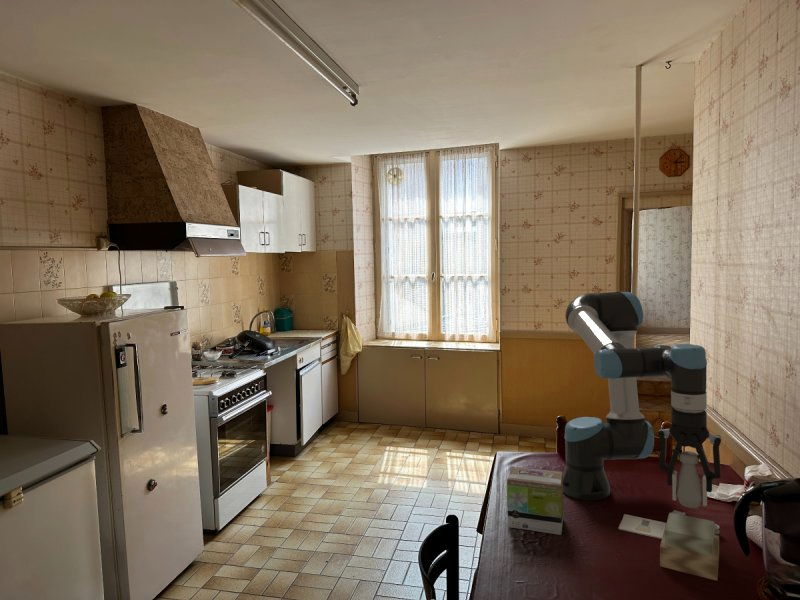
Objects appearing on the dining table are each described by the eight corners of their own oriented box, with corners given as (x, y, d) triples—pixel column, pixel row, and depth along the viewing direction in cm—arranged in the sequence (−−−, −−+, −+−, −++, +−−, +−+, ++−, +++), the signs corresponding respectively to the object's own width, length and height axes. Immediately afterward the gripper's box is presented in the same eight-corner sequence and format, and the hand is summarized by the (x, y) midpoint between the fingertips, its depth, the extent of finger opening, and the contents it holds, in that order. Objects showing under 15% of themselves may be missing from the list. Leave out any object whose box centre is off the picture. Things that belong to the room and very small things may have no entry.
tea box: (507, 529, 148) (505, 478, 147) (512, 512, 157) (510, 465, 156) (562, 536, 143) (561, 484, 142) (564, 518, 152) (562, 469, 151)
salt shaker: (702, 501, 129) (701, 450, 128) (704, 511, 124) (704, 458, 123) (675, 497, 131) (674, 447, 131) (676, 507, 126) (676, 455, 125)
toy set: (670, 525, 147) (669, 512, 147) (674, 520, 149) (674, 508, 149) (717, 539, 138) (716, 526, 137) (721, 534, 140) (721, 521, 140)
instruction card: (618, 529, 145) (618, 527, 145) (624, 515, 152) (624, 513, 152) (666, 540, 138) (666, 538, 138) (670, 525, 146) (670, 523, 146)
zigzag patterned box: (660, 566, 127) (659, 530, 126) (665, 542, 137) (665, 510, 136) (717, 580, 120) (717, 543, 120) (719, 555, 130) (718, 520, 130)
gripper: (644, 408, 128) (645, 499, 130) (734, 417, 118) (734, 516, 119) (648, 400, 134) (649, 487, 136) (734, 408, 124) (735, 502, 126)
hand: (689, 500), depth 128 cm, fingers closed on salt shaker, 6 cm apart
